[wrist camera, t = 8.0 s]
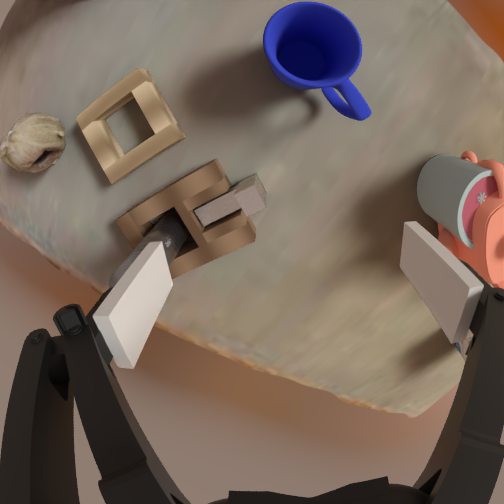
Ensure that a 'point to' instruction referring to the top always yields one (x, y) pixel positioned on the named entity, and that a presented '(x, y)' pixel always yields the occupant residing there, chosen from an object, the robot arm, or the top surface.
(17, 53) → the top surface
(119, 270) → the peg
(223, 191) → the socket block
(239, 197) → the drift key
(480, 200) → the mug
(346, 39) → the mug
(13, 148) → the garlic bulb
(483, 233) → the teapot
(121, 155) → the frame
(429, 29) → the top surface
